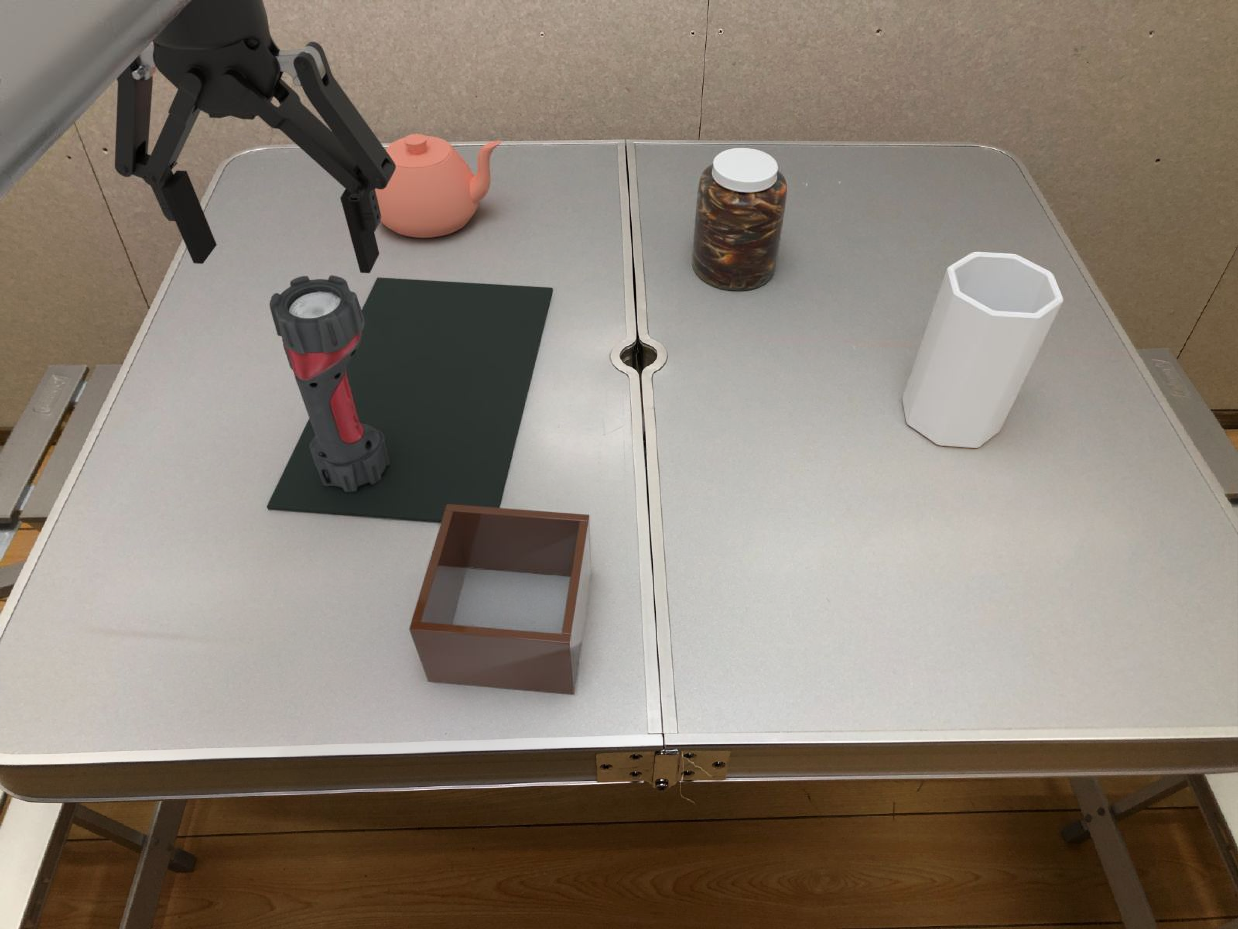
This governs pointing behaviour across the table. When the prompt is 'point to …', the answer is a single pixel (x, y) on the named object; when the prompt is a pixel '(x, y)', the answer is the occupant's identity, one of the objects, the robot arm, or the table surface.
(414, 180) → the teapot
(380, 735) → the table surface
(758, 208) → the jar
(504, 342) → the mat
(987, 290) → the cup
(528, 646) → the brown open box
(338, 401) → the flashlight
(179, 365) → the table surface
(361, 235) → the robot arm
